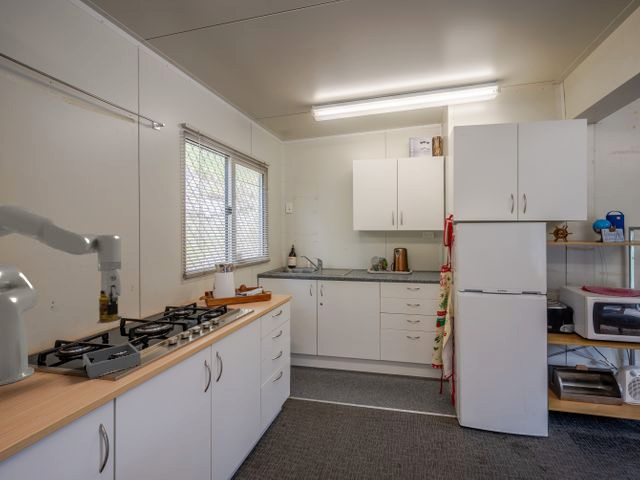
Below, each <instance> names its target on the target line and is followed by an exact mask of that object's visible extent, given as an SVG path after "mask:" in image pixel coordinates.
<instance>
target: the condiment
mask: <svg viewBox="0 0 640 480" xmlns="http://www.w3.org/2000/svg"><path fill="white" fill-rule="evenodd" d="M116 293H117V292H116ZM99 294H100V295H99V296H100V297H99V298H98V299H99V300H98V302H99V305H98V306H99V307H98V311H99V315H98V316H99V320H98V321H97V322H96V323H95V324H96V325H97V324H109V323H117V322H118V323H119V321H120V320H121V319H122V317H123V315H119V312H118V313H117V314H114V315H108V314H107V305H108V297H106V296H105V293H104V291H101V290H100V293H99ZM109 296H112V295H109ZM110 299H111V298H110ZM117 304H118V305H119V296H118V295H117Z"/></svg>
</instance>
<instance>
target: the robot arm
mask: <svg viewBox="0 0 640 480" xmlns="http://www.w3.org/2000/svg"><path fill="white" fill-rule="evenodd" d="M11 234H18V235H21V236H25V237H27V238H30V239H33V240H36V241H38V242H39V243H41V244H44V245H45V246H47V247H49V248H52V249H54V250H58V251H60V252H63V253H66V254H70V255H74V256H81V255H82V256H83V255H90V254H91V255H92V254H96V253H97V272H100V273H101V274H100V292H101V291H104V293H105V296H106V297H108V305H107V314H108V315H114V314H117V313H118V314H119V303H118V304H117V296H118V297H121V296H122V283H121V274H120V271H121V270H122V238H121V236H120V235H118V234H101V235H100V234H91V233H89V234H88V233H85V234H81V233H76V232H74V231H70V230H67V229H64V228H61V227H59V226H57V225H55V223H54V220H52V219H50V218H48V217H46V216H45V217H44V216H42V215H40V214H35V212H33V211H32V210H31V209H29V208H27V207H24V206H16V205H9V204H8V205H7V204H5V205H3V204H2V205H0V238H2V237H5V236H8V235H11ZM116 292H117V293H116ZM109 295H112V296H109ZM110 298H111V299H110ZM38 302H39V294H38V291H36V289H35V287H34V286H33V285H32V283H31V282H30V281H29V280H28V278H27V277H26V275H25V274H24V273H23V272H22V270H21V269H19V267H17V266H15V265H13V264H11V263H6V262H2V263H0V386H4V385H9V384H12V383H16V382H19V381H22V380H25V379H26V378H28V377H30V376H32V375H33V374H34V373H35V368H34V367H31V366H29V357H28V339H27V338H28V335H27V325H26V321H25V319H24V316H23V315H22V313H24V312H27V311H29V310H31V309H33V308H35V306H36V305H37V304H38Z"/></svg>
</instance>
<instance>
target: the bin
mask: <svg viewBox="0 0 640 480" xmlns="http://www.w3.org/2000/svg"><path fill="white" fill-rule="evenodd" d="M124 351H129V355H126V356H122V357H118V358H115V359H111V360H107V359H108V358H109V356H111V355H113V354H116V353H120V352H124ZM88 358H94V360H93V363H91V362H90V360H89V359H88ZM141 359H142V358H141V352H140V350H138V349H137V348H136V347H135V346H134V345H133V344H131V342H129V343H124V344H121V345H116V346H111V347H108V348H104V349H99V350H95V351H90V352H87V353H83V354H82V367H83V368H84V366H85V365H86V371H87V372H88V374H87V377H88V378H89V380H94V379H97V378H100V377H99V376H100V375H102V374H104V373H107V372H111V371H114V370H118V369H122V368H127V367H131V366H134V365H139V364H141V365H142V363H141ZM139 366H140V365H139ZM86 371H85V372H86Z"/></svg>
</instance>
